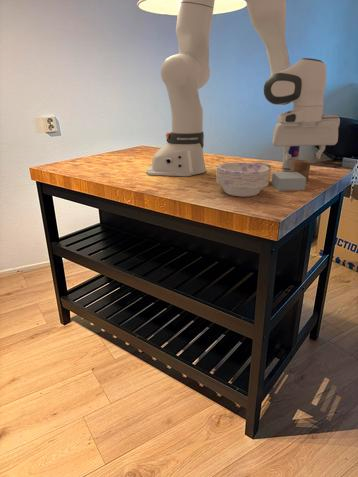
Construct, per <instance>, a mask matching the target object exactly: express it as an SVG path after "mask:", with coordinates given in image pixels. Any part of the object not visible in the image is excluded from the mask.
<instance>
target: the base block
mask: <svg viewBox="0 0 358 477" xmlns="http://www.w3.org/2000/svg"><path fill="white" fill-rule="evenodd" d="M306 184H307V181H306V177H304V176H303V175H301V174H300V173H298V172H286V171H281V172H280V171H278V172H274V171H273V172H272V176H271V185H272V186H273V187H274V188H275V189H276V190H277V191H278V192H279V191H280V192H281V191H305V190H306Z"/></svg>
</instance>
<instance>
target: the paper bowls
mask: <svg viewBox="0 0 358 477" xmlns="http://www.w3.org/2000/svg"><path fill="white" fill-rule="evenodd" d="M255 163H256V162H226V163H221V164H219V165H217V166H216V174H215V175H216V181H215V182H216V185H217V184H218V185H220V186H222V187H221V188H222V189H223V191H224V193H225V194H227V195H229V196H234V197H238V198H239V197H240V198H241V197H242V198H247V197H253V196H256V195H258V194H259V193H260V192H261V190H262V189H264V188H266V187H268V186H269V183H270V181H269V170H270V171H271V169H269V167H267V166H265V165H261V164H255ZM268 182H269V183H268Z"/></svg>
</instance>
